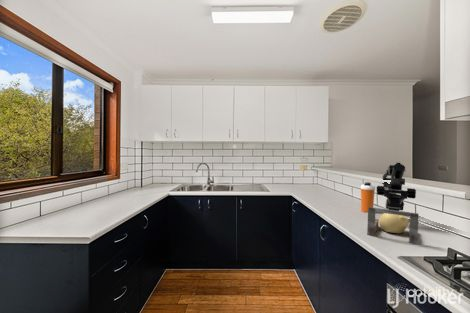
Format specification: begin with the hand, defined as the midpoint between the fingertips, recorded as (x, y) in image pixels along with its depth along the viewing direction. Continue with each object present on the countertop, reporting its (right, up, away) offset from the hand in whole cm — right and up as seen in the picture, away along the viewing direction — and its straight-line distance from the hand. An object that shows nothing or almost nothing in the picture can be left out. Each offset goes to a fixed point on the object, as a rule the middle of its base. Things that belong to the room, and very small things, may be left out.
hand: (394, 203), depth 137 cm
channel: (-9, -13, -12) cm, 20 cm away
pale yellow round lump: (-7, -13, -9) cm, 17 cm away
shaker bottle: (+3, -12, +34) cm, 36 cm away
